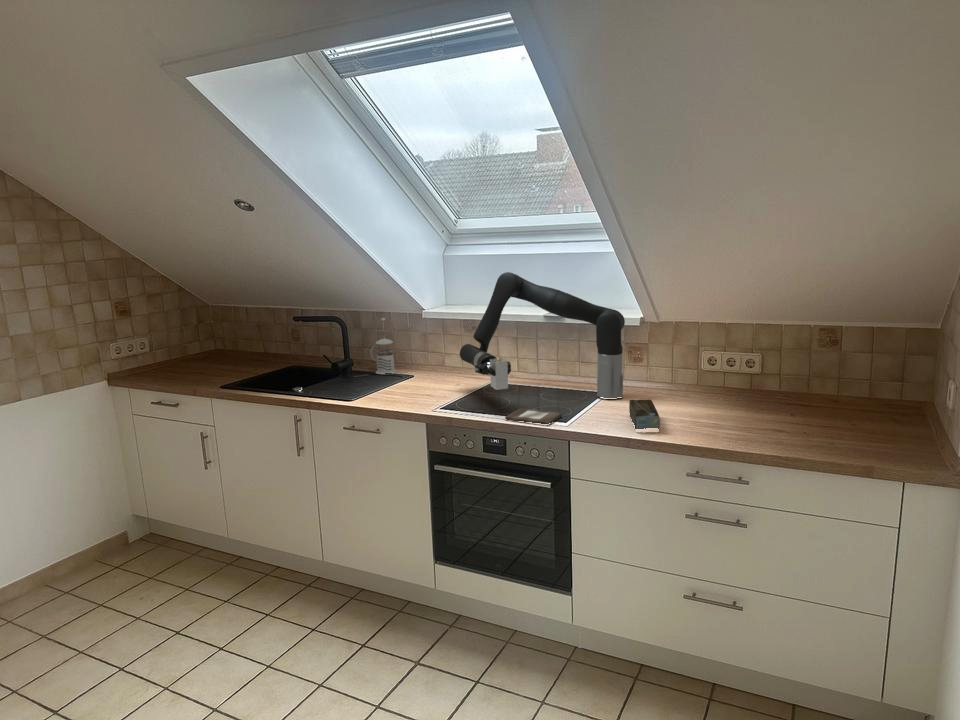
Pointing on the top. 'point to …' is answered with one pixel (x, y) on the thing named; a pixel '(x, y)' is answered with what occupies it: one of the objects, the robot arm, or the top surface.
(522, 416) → the mount plate
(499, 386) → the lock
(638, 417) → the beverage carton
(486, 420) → the top surface
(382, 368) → the french press
